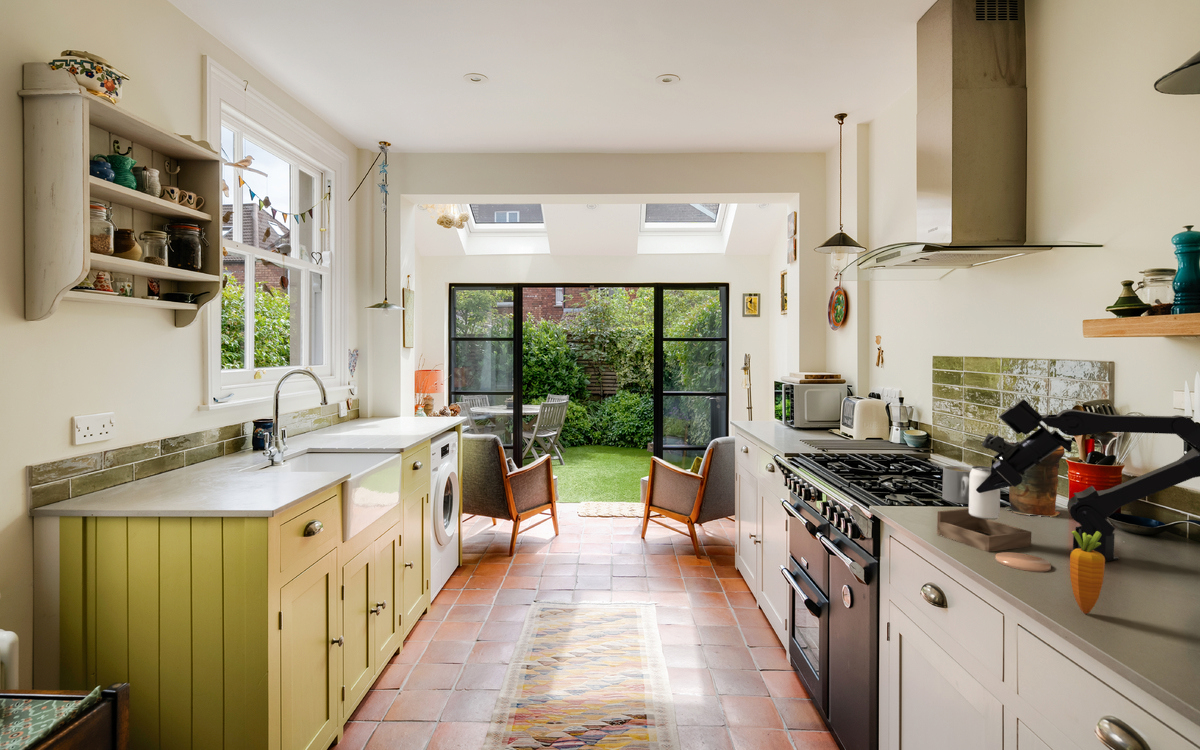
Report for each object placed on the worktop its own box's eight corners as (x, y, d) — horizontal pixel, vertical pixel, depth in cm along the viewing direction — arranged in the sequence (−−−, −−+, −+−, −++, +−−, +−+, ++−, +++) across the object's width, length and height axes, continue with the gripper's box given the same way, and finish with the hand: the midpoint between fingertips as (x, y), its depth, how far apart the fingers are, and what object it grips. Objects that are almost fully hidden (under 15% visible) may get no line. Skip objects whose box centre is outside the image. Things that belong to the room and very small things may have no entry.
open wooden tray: (1031, 546, 144) (1031, 521, 144) (988, 551, 139) (989, 526, 139) (977, 529, 157) (978, 507, 157) (937, 534, 152) (937, 511, 152)
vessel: (1068, 520, 166) (1068, 449, 166) (1006, 514, 173) (1006, 446, 173) (1060, 509, 179) (1060, 443, 178) (1002, 504, 186) (1002, 440, 185)
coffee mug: (941, 494, 197) (942, 464, 196) (977, 498, 192) (978, 467, 192) (943, 503, 185) (944, 471, 185) (981, 507, 180) (982, 475, 180)
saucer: (1062, 568, 129) (1062, 564, 129) (1029, 573, 125) (1029, 570, 125) (1016, 553, 138) (1016, 550, 138) (984, 558, 135) (984, 554, 135)
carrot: (1061, 610, 107) (1064, 527, 107) (1079, 606, 109) (1082, 525, 109) (1092, 621, 103) (1095, 535, 102) (1110, 617, 105) (1113, 532, 104)
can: (990, 513, 151) (991, 466, 150) (1005, 520, 144) (1006, 471, 144) (963, 512, 151) (964, 465, 151) (976, 519, 145) (978, 470, 145)
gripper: (1005, 420, 153) (954, 458, 159) (1005, 427, 137) (949, 469, 144) (1042, 453, 148) (988, 491, 155) (1047, 464, 133) (987, 506, 140)
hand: (977, 488), depth 148 cm, fingers closed on can, 6 cm apart
